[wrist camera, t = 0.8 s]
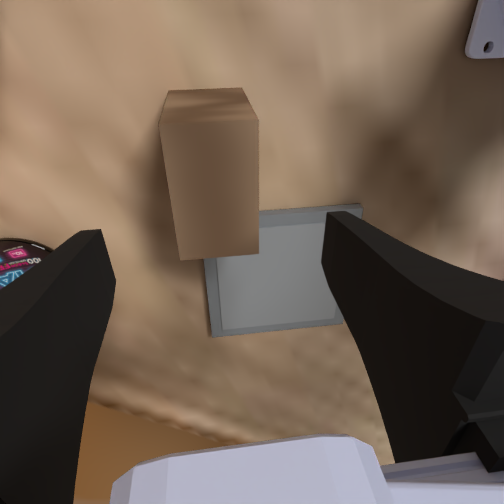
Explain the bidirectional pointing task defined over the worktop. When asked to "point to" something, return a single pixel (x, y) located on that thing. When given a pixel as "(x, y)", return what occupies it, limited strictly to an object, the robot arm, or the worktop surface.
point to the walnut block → (212, 171)
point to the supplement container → (19, 257)
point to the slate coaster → (275, 277)
